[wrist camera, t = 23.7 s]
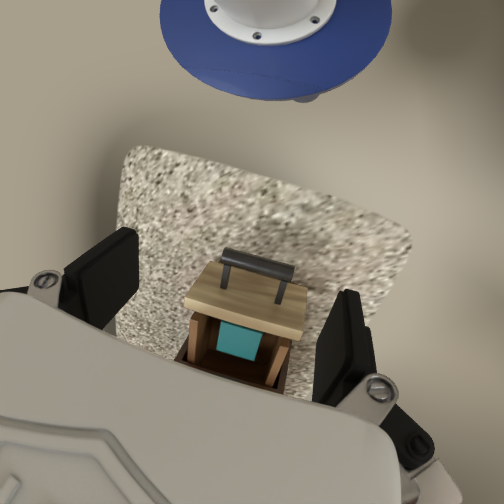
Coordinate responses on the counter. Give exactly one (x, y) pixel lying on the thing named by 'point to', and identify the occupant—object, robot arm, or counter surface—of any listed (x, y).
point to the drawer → (245, 314)
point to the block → (238, 340)
